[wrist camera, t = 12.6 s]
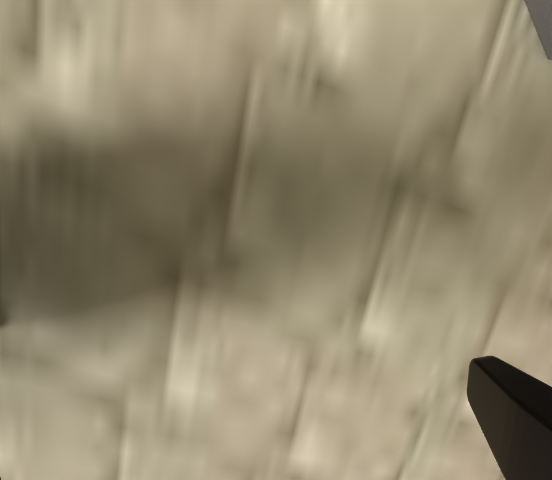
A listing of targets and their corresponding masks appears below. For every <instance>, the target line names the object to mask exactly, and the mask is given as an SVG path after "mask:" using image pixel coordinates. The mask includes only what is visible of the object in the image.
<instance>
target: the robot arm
mask: <svg viewBox="0 0 552 480" xmlns="http://www.w3.org/2000/svg"><path fill="white" fill-rule="evenodd" d="M467 397H468V401H469V403H470V406H471V408H472V410H473V412H474V414H475V416H476V418H477V421H478V423H479V425H480V427H481V429H482V431H483V433H484V436H485V438H486V440H487V442H488V444H489V446H490V448H491V450H492V453H493V455H494V457H495V459H496V461H497V463H498V465H499V467H500V469H501V471H502V473H503V475H504V477H505V479H506V480H552V387H551V386H549V385H547V384H545V383H544V382H542V381H540V380H538V379H536V378H534V377H532V376H531V375H529V374H527V373H525V372H523V371H521V370H519V369H517V368H516V367H514V366H512V365H510V364H508V363H506V362H504V361H502V360H501V359H499V358H497V357H494V356H485V357H479V358H474V359H472V360H471V362H470V365H469V374H468V383H467ZM0 480H1V478H0Z"/></svg>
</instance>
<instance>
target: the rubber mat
mask: <svg viewBox="0 0 552 480" xmlns="http://www.w3.org/2000/svg"><path fill="white" fill-rule="evenodd" d="M525 2H526V5H527V7H528V10H529V12H530V15H531V17H532V20H533V22H534V25H535V27H536V30H537V32H538V35H539V38H540V40H541V43H542V45H543V48H544V50H545V53H546V55H547V58H548V59H550V60H552V0H525Z"/></svg>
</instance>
